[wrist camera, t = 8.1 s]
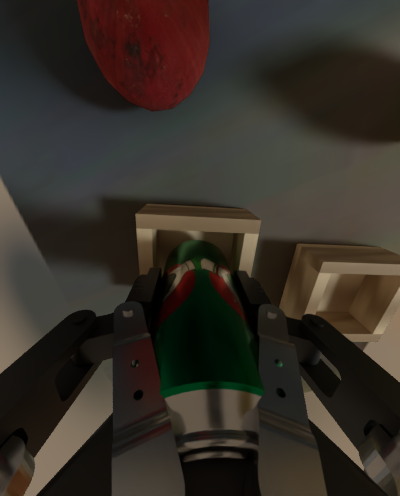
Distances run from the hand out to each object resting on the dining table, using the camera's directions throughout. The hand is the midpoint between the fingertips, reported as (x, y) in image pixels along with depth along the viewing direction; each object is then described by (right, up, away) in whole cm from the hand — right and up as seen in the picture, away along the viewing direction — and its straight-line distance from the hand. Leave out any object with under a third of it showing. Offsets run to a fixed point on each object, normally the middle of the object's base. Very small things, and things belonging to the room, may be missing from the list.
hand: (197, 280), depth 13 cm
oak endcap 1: (0, +2, +5) cm, 5 cm away
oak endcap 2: (+14, -1, +7) cm, 15 cm away
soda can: (0, +1, +3) cm, 3 cm away
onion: (-2, +14, 0) cm, 14 cm away
